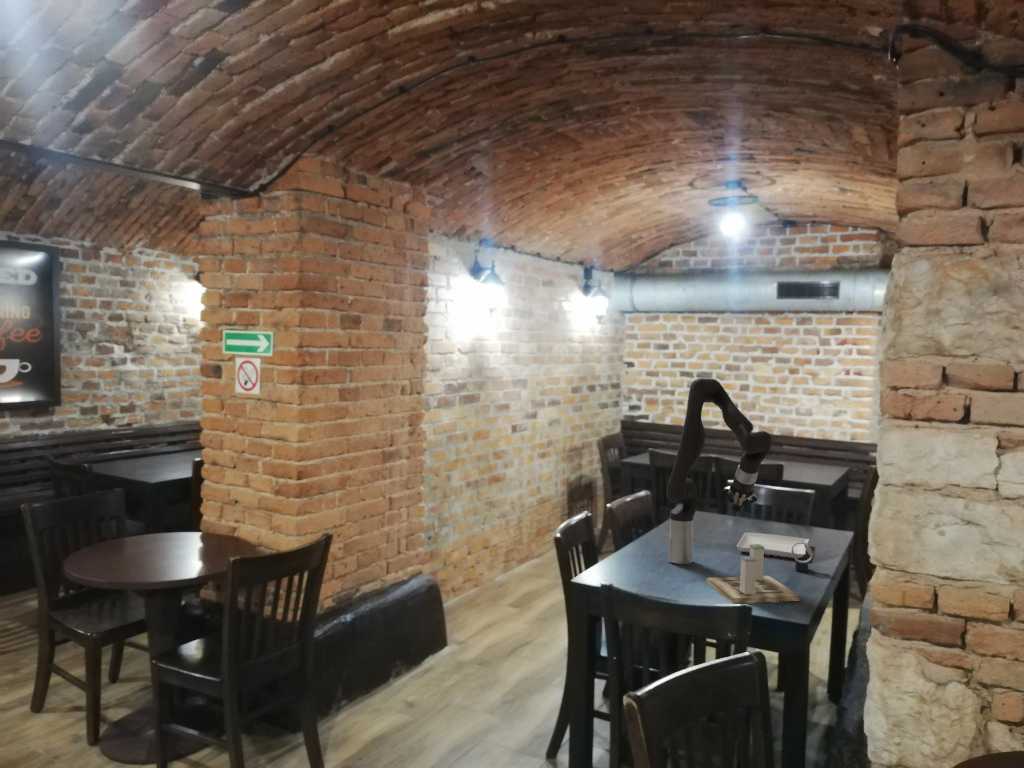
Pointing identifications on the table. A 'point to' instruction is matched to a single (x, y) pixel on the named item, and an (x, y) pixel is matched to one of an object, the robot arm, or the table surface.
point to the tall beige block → (758, 559)
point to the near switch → (747, 575)
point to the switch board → (763, 590)
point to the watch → (801, 564)
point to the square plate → (773, 544)
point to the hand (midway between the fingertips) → (735, 510)
